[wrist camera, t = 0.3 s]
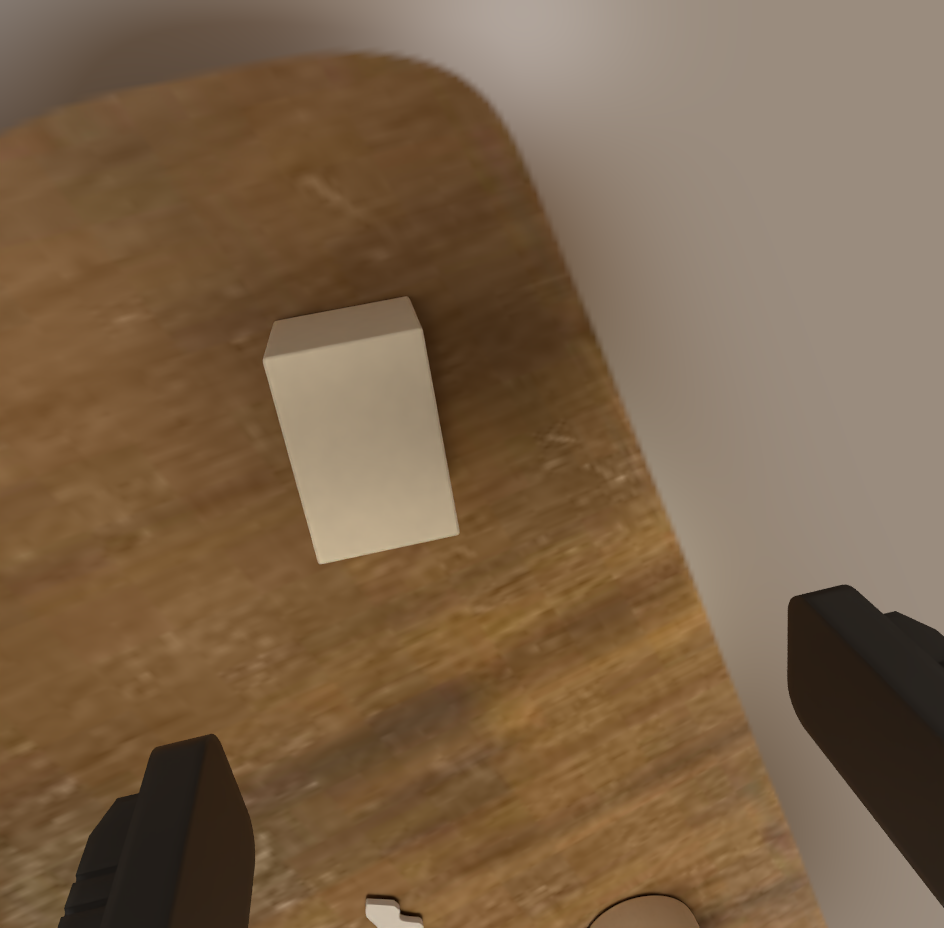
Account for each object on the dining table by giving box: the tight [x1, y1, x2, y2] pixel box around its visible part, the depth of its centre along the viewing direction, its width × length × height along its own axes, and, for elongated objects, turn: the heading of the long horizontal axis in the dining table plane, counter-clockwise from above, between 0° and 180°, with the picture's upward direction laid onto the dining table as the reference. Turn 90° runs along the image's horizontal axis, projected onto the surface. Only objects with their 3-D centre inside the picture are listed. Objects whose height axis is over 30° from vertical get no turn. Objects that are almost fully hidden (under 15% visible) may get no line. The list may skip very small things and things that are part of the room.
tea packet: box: [263, 296, 460, 564], centre depth 22 cm, size 6×4×4 cm, turn 9°
